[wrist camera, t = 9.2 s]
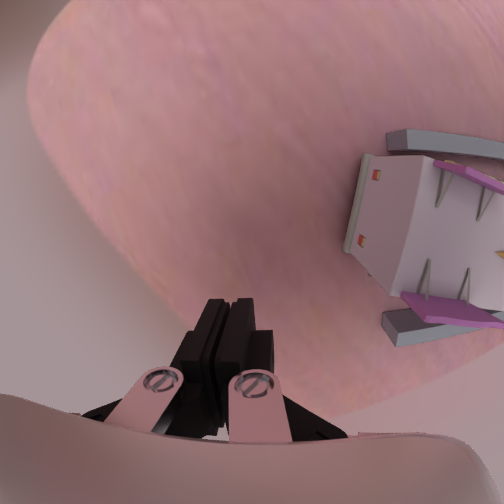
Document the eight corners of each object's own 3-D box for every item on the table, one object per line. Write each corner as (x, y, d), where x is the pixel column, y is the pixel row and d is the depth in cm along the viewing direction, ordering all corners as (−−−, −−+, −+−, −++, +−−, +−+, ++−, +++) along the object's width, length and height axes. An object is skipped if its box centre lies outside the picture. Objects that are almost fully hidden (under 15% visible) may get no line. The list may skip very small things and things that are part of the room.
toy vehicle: (487, 282, 25) (575, 347, 11) (334, 251, 25) (406, 352, 11) (509, 202, 23) (611, 237, 8) (356, 145, 23) (467, 129, 8)
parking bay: (527, 152, 21) (563, 155, 15) (514, 299, 26) (542, 320, 20) (386, 133, 22) (419, 126, 16) (381, 325, 27) (403, 360, 21)
